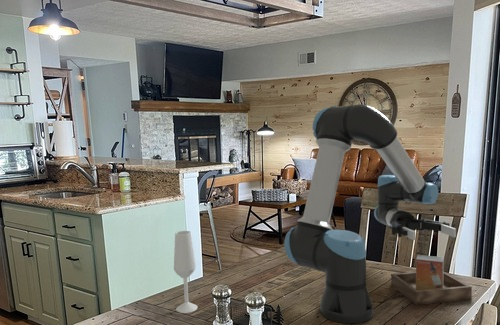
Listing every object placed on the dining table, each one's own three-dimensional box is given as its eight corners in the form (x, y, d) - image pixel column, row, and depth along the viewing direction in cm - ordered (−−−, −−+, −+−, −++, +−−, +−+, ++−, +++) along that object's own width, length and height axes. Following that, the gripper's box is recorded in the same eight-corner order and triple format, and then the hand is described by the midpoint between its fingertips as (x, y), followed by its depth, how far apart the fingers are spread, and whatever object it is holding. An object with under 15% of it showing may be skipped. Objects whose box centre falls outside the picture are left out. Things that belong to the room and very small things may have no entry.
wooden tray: (416, 305, 120) (416, 292, 120) (391, 285, 136) (391, 273, 135) (471, 299, 122) (471, 286, 122) (440, 280, 138) (440, 269, 138)
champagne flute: (182, 302, 128) (178, 229, 127) (201, 304, 126) (197, 230, 125) (172, 311, 122) (167, 235, 120) (191, 314, 120) (187, 235, 118)
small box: (415, 290, 128) (415, 258, 128) (417, 284, 133) (417, 254, 132) (443, 294, 125) (443, 261, 124) (443, 288, 129) (443, 256, 129)
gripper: (432, 228, 147) (471, 243, 126) (368, 232, 144) (397, 249, 123) (432, 208, 147) (471, 220, 125) (367, 212, 143) (396, 225, 122)
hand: (434, 234), depth 124 cm, fingers open, 13 cm apart
